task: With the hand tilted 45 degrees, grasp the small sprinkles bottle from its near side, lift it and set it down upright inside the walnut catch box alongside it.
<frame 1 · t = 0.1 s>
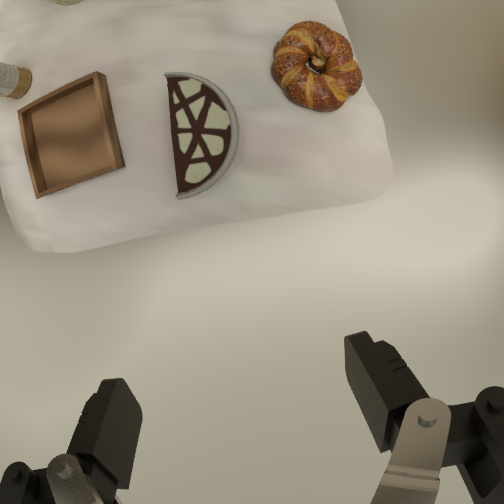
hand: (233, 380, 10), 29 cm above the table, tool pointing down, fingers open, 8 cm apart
sprinkles bottle: (21, 83, 29), on the table
catch box: (72, 136, 33), on the table
pretzel: (313, 67, 33), on the table
food container: (209, 133, 35), on the table
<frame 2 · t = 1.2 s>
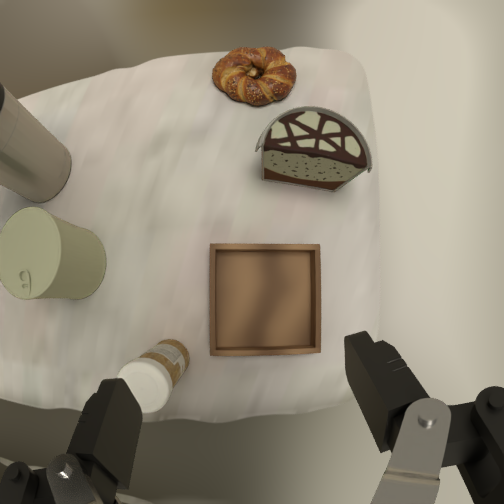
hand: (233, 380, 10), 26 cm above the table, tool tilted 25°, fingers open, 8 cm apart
sprinkles bottle: (171, 356, 35), on the table
catch box: (263, 299, 37), on the table
pretzel: (253, 80, 41), on the table
can: (76, 263, 36), on the table
food container: (300, 164, 39), on the table
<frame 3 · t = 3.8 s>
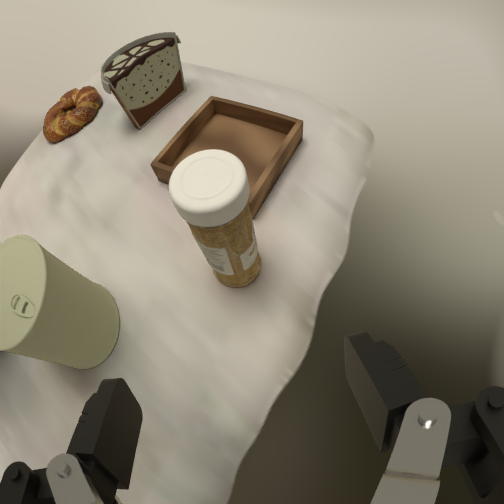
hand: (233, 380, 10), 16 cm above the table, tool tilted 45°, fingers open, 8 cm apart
sprinkles bottle: (236, 265, 29), on the table
catch box: (231, 157, 35), on the table
pretzel: (75, 119, 43), on the table
can: (83, 325, 28), on the table
food container: (150, 105, 41), on the table
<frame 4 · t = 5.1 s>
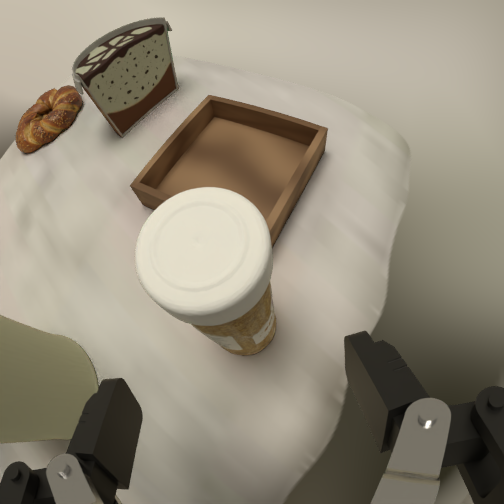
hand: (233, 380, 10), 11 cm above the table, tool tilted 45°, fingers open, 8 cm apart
sprinkles bottle: (244, 324, 22), on the table
catch box: (234, 174, 27), on the table
pretzel: (52, 125, 35), on the table
can: (57, 387, 21), on the table
food container: (136, 106, 33), on the table
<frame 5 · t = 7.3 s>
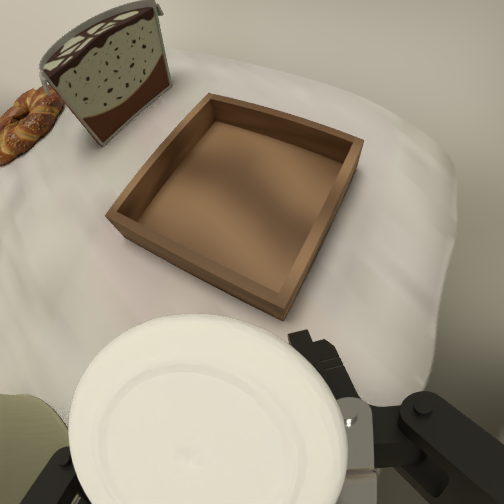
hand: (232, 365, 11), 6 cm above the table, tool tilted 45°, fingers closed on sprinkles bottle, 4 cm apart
sprinkles bottle: (256, 404, 16), on the table, touching gripper
catch box: (242, 199, 21), on the table
pretzel: (30, 131, 29), on the table
can: (36, 453, 15), on the table
food container: (121, 108, 27), on the table
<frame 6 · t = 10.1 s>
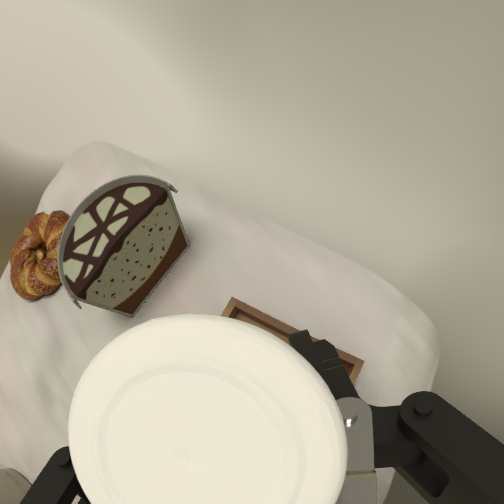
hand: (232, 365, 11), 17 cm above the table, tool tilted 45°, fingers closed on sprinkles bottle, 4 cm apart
sprinkles bottle: (256, 404, 16), point 10 cm above the table, touching gripper
catch box: (263, 395, 25), on the table
pretzel: (49, 259, 33), on the table
food container: (142, 265, 32), on the table
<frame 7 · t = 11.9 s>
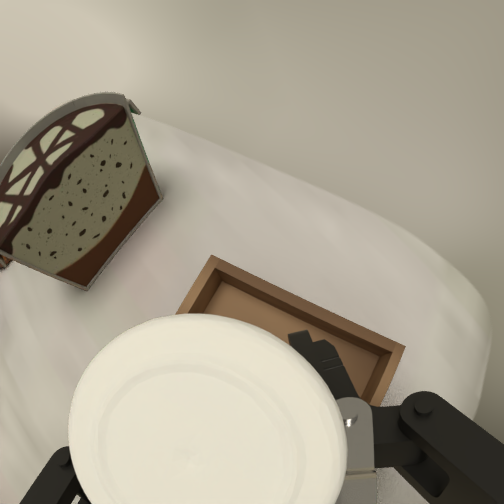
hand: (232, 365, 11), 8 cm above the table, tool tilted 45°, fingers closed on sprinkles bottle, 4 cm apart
sprinkles bottle: (256, 404, 16), point 2 cm above the table, touching gripper
catch box: (257, 399, 17), on the table
food container: (103, 226, 24), on the table
when the fingers open (8 cm above the table, at t = 11.9 s): sprinkles bottle drops 1 cm, resting on catch box.
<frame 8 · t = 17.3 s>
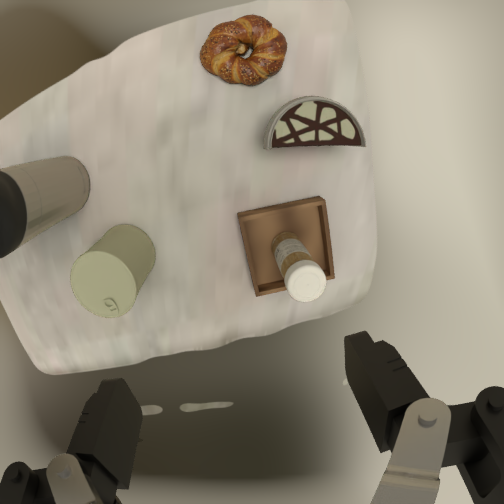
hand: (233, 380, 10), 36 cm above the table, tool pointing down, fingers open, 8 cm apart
sprinkles bottle: (285, 244, 47), resting on catch box
catch box: (286, 243, 47), on the table
pretzel: (243, 53, 37), on the table
can: (127, 252, 46), on the table
food container: (298, 124, 41), on the table
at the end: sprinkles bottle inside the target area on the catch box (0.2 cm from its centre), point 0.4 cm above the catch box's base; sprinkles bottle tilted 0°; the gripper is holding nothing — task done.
